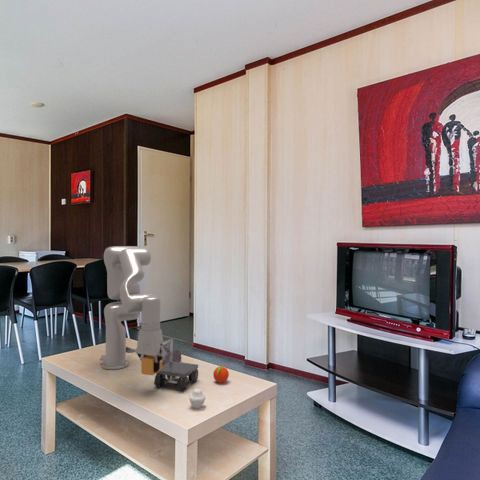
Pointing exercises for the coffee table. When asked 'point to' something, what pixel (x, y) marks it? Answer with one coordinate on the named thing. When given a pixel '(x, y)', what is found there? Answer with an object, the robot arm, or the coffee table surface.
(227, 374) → the clementine
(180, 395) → the coffee table surface
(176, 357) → the stone
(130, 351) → the grey flat jagged piece
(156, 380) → the trolley
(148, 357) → the block
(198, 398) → the white lidded jar
